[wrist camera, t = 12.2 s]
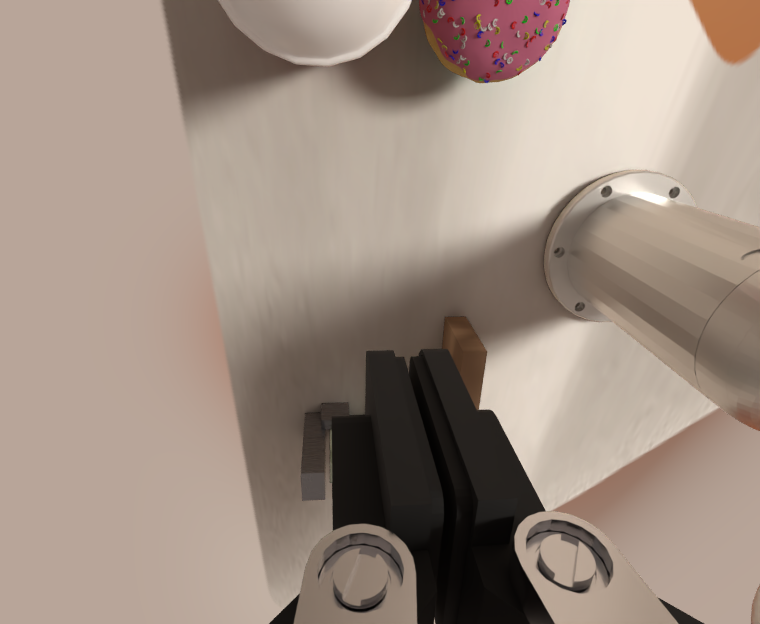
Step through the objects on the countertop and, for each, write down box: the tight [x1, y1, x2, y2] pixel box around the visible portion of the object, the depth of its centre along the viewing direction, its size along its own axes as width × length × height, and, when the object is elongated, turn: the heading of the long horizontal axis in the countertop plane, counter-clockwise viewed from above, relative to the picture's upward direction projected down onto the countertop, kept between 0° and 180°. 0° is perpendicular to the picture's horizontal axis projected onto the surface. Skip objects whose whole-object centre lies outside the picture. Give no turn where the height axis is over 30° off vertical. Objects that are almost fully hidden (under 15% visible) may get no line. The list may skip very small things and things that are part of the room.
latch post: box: [301, 403, 349, 501], centre depth 40 cm, size 4×4×8 cm
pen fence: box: [442, 317, 487, 410], centre depth 38 cm, size 3×12×10 cm, turn 179°
